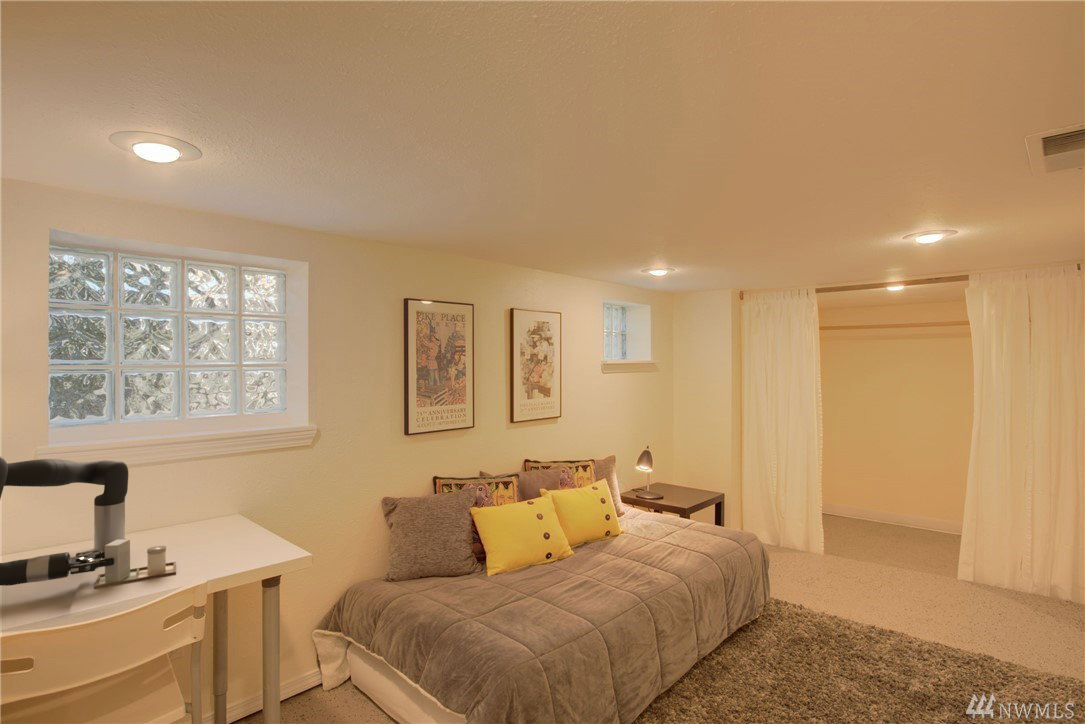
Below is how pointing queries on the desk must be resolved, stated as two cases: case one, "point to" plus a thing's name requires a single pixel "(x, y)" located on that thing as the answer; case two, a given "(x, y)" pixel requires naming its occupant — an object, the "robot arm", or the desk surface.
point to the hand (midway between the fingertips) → (115, 557)
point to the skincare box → (118, 560)
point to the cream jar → (156, 560)
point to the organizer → (136, 575)
